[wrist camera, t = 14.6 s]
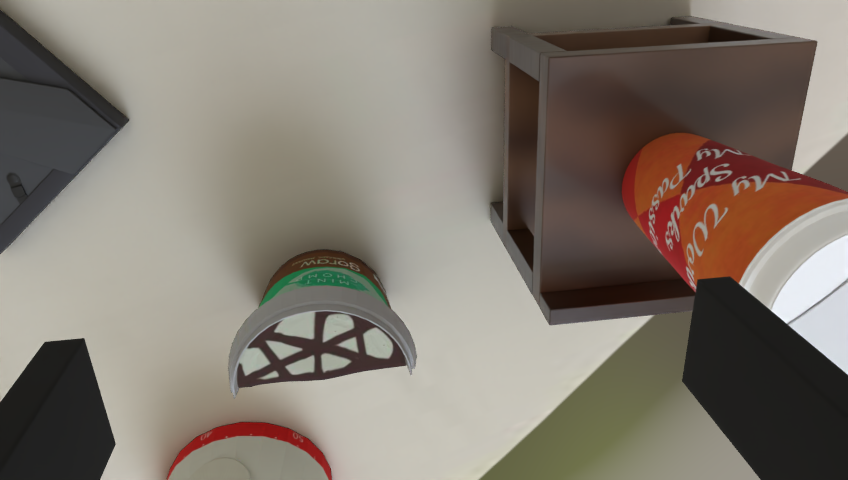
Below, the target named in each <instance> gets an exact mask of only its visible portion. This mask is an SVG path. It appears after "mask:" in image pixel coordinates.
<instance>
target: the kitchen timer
mask: <svg viewBox="0 0 848 480" xmlns="http://www.w3.org/2000/svg"><path fill="white" fill-rule="evenodd" d="M167 480H332V476H331V469H330V467H329V465H328V463H327V461H326V459H325V457H324V455H323V453H322V452H321V451H320V450H319V449H318V448H317V447H316V446H315V445H314V444H313V443H312V442H311V441H310V440H309V439H307V438H306V437H304V436H302V435H300V434H298V433H296V432H294V431H292V430H291V429H289V428H285V427H281V426H277V425H273V424H269V423H255V422H240V423H235V424H230V425H226V426H221V427H217V428H215V429H213V430H210V431H208V432H206V433H204V434H202V435H200V436H198V437H196V438H195V439H194V440H193V441H191V442H190V443H189V444H188V445H187V446H186V447H185V448H184V449H182V450H181V451H180V453H179V454H178V456H177V458H176V460H175V461H174V463H173V465H172V466H171V468H170V471H169V474H168V477H167Z"/></svg>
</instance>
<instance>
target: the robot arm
mask: <svg viewBox="0 0 848 480" xmlns="http://www.w3.org/2000/svg"><path fill="white" fill-rule="evenodd" d="M682 382H683V383H684V384H685V385H686V386H687V388H688V389H689V390H690V392H691V393H692V394H693V395H694V396H695V398H696V399H697V400H698V402H699V403H700V404H701V405H702V407H703V408H704V409H705V410H706V411H707V413H708V414H709V415H710V416H711V418H712V419H713V420H714V421H715V423H716V424H717V425H718V427H719V428H720V429H721V430H722V432H723V433H724V434H725V435H726V437H727V438H728V439H729V440H730V442H732V444H733V445H734V446H735V448H736V449H737V450H738V452H739V453H740V454H741V455H742V457H743V458H744V459H745V460H746V462H747V463H748V464H749V465H750V467H751V468H752V469H753V470H754V472H755V473H756V474H757V475H758V477H759V478H760V479H761V480H848V374H846V373H845V372H844V371H843V370H842V369H840V368H839V367H838V366H837V365H836V364H834V363H833V362H832V361H831V360H830V359H828V358H827V357H826V356H825V355H824V354H822V353H821V352H820V351H819V350H818V349H816V348H815V347H814V346H813V345H812V344H810V343H809V342H808V341H807V340H806V339H804V338H803V337H802V336H801V335H800V334H798V333H797V332H796V331H795V330H794V329H792V328H791V327H790V326H789V325H788V324H787V323H785V322H784V321H783V320H782V319H781V318H779V317H778V316H777V315H776V314H775V313H773V312H772V311H771V310H770V309H769V308H767V307H766V306H765V305H764V304H763V303H761V302H760V301H759V300H758V299H757V298H755V297H754V296H753V295H752V294H751V293H749V292H748V291H747V290H746V289H745V288H743V287H742V286H741V285H740V284H739V283H737V282H736V281H735V280H734V279H733V278H731V277H730V276H728V277H717V278H707V279H697V285H696V292H695V299H694V305H693V312H692V319H691V325H690V332H689V339H688V346H687V352H686V359H685V365H684V372H683V379H682ZM114 447H115V440H114V437H113V433H112V430H111V427H110V423H109V420H108V417H107V413H106V410H105V407H104V403H103V400H102V397H101V393H100V390H99V387H98V383H97V380H96V376H95V373H94V370H93V366H92V363H91V360H90V356H89V353H88V350H87V346H86V343H85V340H84V338H82V339H71V340H61V341H50V342H44V344H43V345H42V346H41V348H40V349H39V351H38V352H37V353H36V355H35V356H34V357H33V359H32V360H31V361H30V363H29V364H28V365H27V367H26V368H25V370H24V371H23V372H22V374H21V375H20V376H19V378H18V379H17V380H16V382H15V383H14V384H13V386H12V387H11V389H10V390H9V391H8V393H7V394H6V395H5V397H4V398H3V399H2V401H1V402H0V480H100V478H101V476H102V474H103V472H104V469H105V467H106V465H107V462H108V460H109V458H110V456H111V453H112V451H113V449H114Z"/></svg>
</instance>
